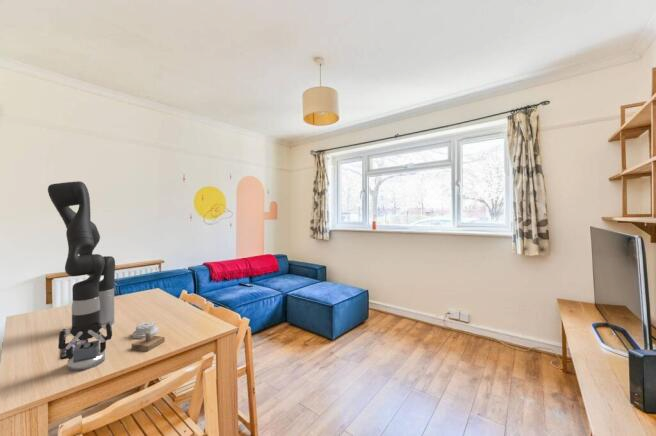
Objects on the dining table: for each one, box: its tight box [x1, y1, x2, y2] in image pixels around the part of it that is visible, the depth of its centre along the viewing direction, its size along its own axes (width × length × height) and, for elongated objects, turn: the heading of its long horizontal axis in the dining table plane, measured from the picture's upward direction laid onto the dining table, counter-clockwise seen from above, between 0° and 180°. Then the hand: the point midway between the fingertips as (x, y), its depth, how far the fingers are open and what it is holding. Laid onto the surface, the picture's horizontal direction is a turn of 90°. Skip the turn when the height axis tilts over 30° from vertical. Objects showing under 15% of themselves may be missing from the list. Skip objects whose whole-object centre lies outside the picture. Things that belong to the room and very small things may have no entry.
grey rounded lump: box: [131, 321, 160, 340], centre depth 121 cm, size 10×4×10 cm
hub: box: [67, 341, 106, 372], centre depth 96 cm, size 10×10×8 cm
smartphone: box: [60, 339, 89, 360], centre depth 107 cm, size 8×1×15 cm
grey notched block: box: [73, 339, 100, 363], centre depth 96 cm, size 6×6×4 cm
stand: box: [131, 332, 166, 352], centre depth 110 cm, size 8×8×5 cm
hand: (86, 354), depth 96 cm, fingers open, 8 cm apart
